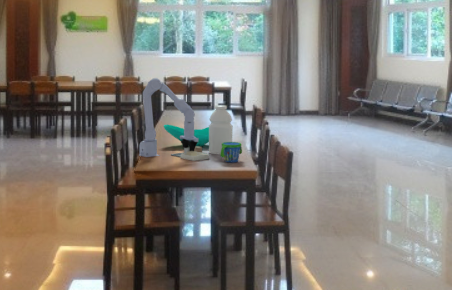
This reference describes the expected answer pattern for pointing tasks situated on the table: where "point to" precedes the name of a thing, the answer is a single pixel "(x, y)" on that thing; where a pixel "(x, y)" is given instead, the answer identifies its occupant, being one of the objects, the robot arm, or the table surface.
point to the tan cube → (198, 149)
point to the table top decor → (198, 133)
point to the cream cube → (192, 153)
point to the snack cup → (231, 151)
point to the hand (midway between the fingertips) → (189, 152)
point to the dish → (194, 158)
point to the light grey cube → (186, 149)
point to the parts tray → (179, 154)
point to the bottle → (219, 129)
